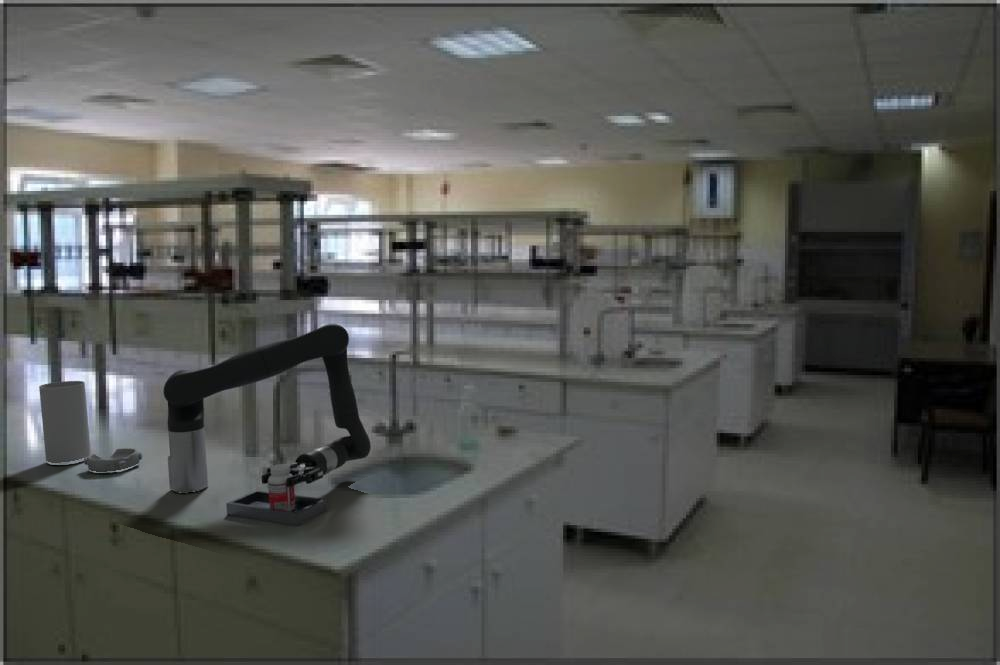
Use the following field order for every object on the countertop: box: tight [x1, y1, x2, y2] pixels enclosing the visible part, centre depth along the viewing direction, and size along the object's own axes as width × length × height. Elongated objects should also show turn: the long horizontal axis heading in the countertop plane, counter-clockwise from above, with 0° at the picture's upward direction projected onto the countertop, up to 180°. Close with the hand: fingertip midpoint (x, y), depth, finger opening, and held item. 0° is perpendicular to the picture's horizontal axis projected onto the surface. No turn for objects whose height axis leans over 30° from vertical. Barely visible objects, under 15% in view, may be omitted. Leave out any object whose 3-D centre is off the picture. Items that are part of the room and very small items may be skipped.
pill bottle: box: [267, 463, 296, 511], centre depth 186 cm, size 6×6×11 cm
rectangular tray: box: [225, 489, 327, 527], centre depth 187 cm, size 22×11×3 cm, turn 67°
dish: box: [83, 447, 143, 472], centre depth 229 cm, size 14×14×5 cm
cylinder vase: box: [38, 380, 92, 463], centre depth 237 cm, size 12×12×25 cm
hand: (275, 481), depth 184 cm, fingers open, 7 cm apart
